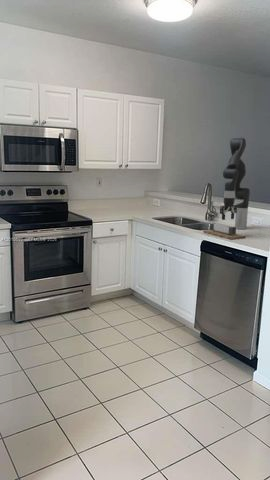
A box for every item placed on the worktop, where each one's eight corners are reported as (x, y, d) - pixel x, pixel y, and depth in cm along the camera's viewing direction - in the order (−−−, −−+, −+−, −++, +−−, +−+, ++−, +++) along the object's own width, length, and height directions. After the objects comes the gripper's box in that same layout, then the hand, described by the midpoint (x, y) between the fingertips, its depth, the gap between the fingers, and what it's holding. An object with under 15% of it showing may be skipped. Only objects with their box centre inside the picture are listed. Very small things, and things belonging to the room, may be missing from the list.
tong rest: (203, 232, 296) (203, 222, 294) (217, 231, 302) (217, 221, 301) (231, 239, 270) (231, 229, 269) (245, 238, 277) (246, 227, 276)
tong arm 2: (215, 229, 294) (216, 223, 293) (217, 229, 295) (217, 223, 294) (233, 234, 277) (234, 227, 276) (235, 234, 278) (236, 227, 277)
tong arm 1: (213, 230, 293) (213, 223, 292) (214, 230, 294) (215, 223, 293) (231, 234, 276) (231, 227, 275) (233, 234, 277) (233, 227, 276)
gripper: (225, 198, 271) (224, 220, 275) (240, 197, 278) (238, 219, 282) (218, 197, 278) (216, 219, 281) (232, 196, 285) (231, 218, 288)
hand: (227, 219), depth 281 cm, fingers open, 8 cm apart
